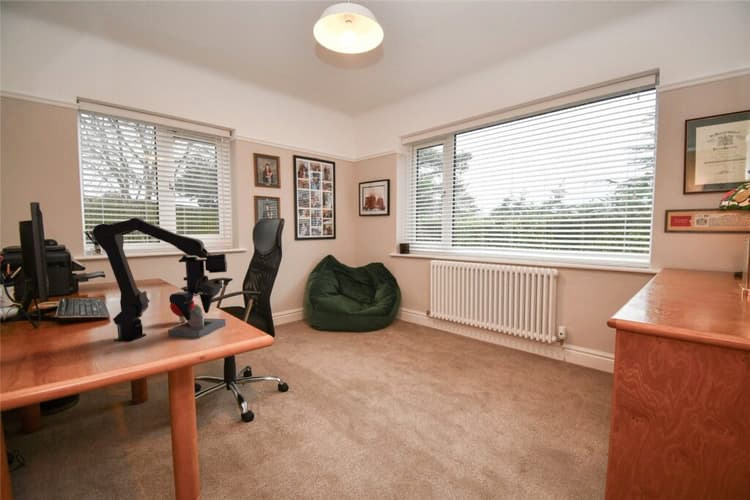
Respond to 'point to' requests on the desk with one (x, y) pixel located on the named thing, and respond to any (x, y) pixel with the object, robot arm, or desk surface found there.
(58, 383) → the desk surface
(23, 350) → the desk surface
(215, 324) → the socket block
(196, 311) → the pale grey rock
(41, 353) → the desk surface
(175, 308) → the light bulb
